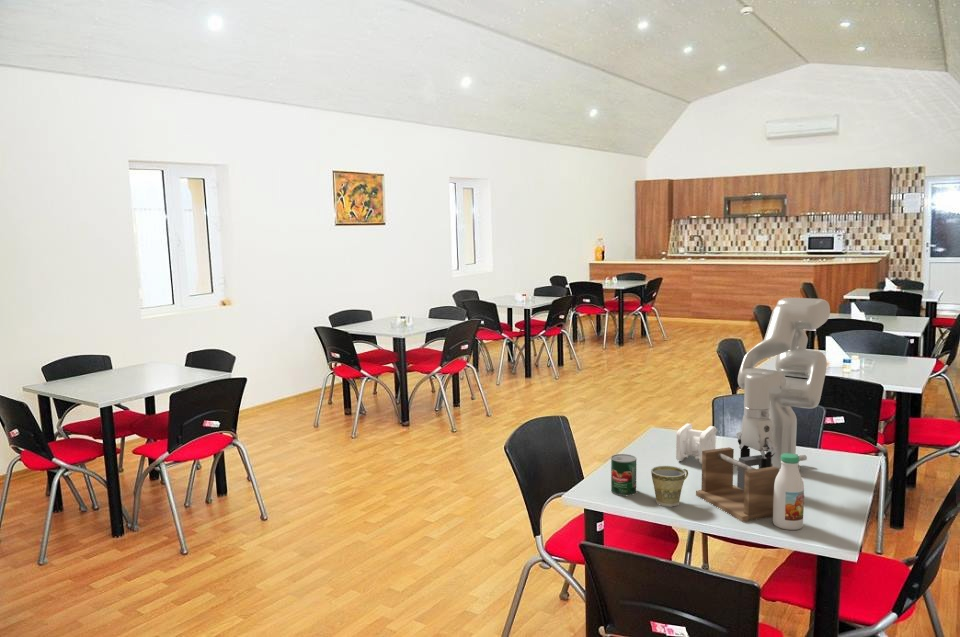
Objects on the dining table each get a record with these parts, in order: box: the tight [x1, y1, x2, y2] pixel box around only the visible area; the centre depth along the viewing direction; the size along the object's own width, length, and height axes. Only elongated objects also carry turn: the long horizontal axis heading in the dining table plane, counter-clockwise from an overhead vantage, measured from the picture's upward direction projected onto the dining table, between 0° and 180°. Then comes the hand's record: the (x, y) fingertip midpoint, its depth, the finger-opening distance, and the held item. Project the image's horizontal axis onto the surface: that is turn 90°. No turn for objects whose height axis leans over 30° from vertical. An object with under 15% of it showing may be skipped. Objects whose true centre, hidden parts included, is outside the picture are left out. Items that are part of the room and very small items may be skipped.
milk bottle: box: [772, 453, 805, 531], centre depth 199 cm, size 8×8×20 cm
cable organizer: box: [675, 422, 718, 465], centre depth 258 cm, size 15×11×12 cm
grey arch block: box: [736, 454, 773, 490], centre depth 229 cm, size 10×4×10 cm, turn 108°
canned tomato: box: [610, 453, 637, 497], centre depth 228 cm, size 8×8×11 cm
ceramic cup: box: [650, 465, 689, 507], centre depth 219 cm, size 13×10×10 cm
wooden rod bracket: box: [695, 446, 779, 523], centre depth 215 cm, size 22×14×14 cm, turn 18°
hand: (755, 465), depth 229 cm, fingers open, 9 cm apart
